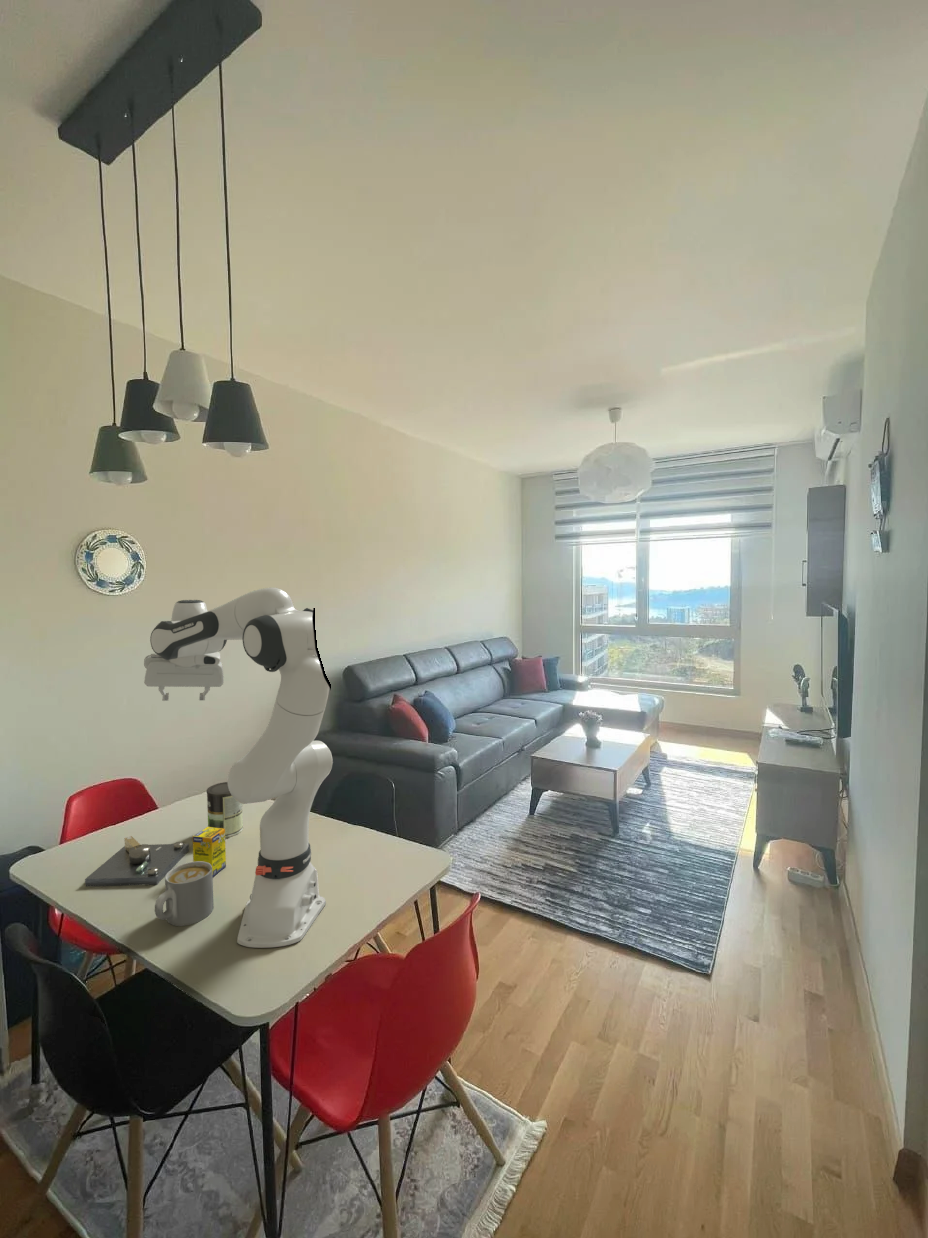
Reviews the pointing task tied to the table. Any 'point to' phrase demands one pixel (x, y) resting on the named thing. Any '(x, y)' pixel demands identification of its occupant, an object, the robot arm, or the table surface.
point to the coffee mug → (187, 894)
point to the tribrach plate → (138, 867)
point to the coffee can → (224, 810)
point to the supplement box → (210, 848)
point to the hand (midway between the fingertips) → (184, 699)
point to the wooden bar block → (137, 851)
